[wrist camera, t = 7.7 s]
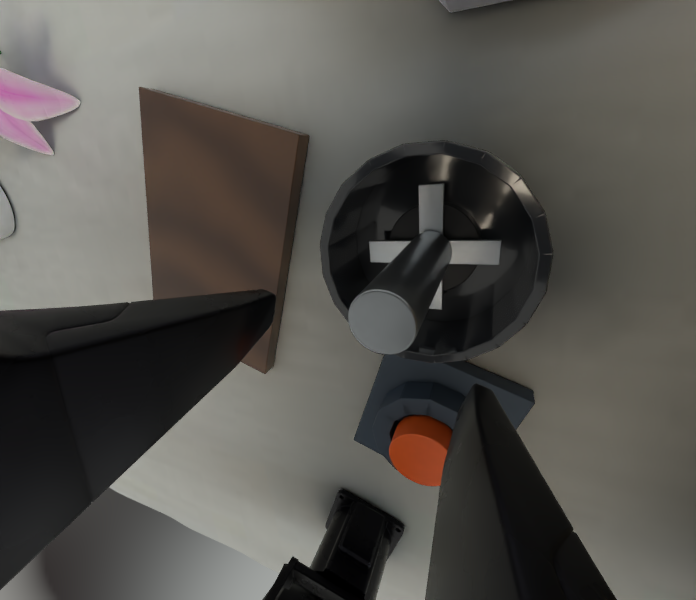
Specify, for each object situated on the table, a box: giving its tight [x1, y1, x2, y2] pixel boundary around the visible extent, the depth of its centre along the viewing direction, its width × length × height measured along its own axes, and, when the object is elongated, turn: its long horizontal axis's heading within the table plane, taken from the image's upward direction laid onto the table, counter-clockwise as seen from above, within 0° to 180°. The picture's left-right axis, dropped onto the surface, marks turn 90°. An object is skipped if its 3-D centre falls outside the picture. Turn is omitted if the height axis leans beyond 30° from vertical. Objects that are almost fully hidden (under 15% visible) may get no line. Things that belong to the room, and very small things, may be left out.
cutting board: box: [139, 87, 309, 374], centre depth 25 cm, size 18×12×1 cm, turn 166°
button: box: [389, 415, 453, 486], centre depth 21 cm, size 4×4×2 cm
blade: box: [348, 183, 501, 355], centre depth 14 cm, size 7×7×10 cm
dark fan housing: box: [320, 140, 553, 363], centre depth 17 cm, size 10×10×4 cm
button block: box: [354, 354, 535, 470], centre depth 22 cm, size 10×9×3 cm
